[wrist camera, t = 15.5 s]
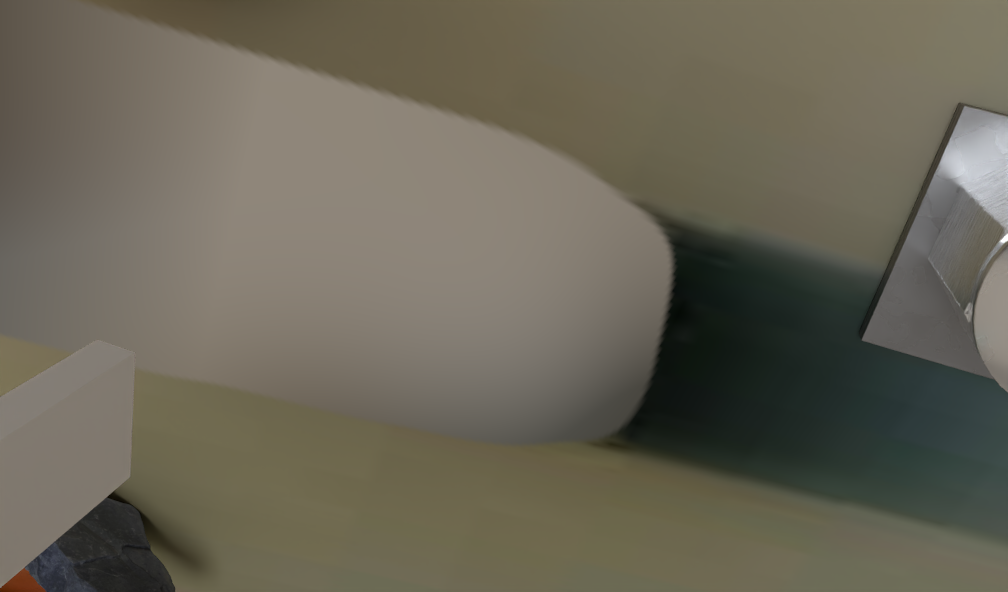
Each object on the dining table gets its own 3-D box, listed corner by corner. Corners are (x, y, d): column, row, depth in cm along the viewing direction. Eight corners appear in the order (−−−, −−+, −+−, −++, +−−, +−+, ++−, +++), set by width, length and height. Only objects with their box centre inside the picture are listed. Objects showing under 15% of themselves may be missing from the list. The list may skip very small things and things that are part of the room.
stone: (49, 508, 63) (-65, 599, 54) (46, 440, 61) (-73, 524, 52) (218, 566, 61) (129, 671, 52) (222, 499, 59) (129, 596, 50)
